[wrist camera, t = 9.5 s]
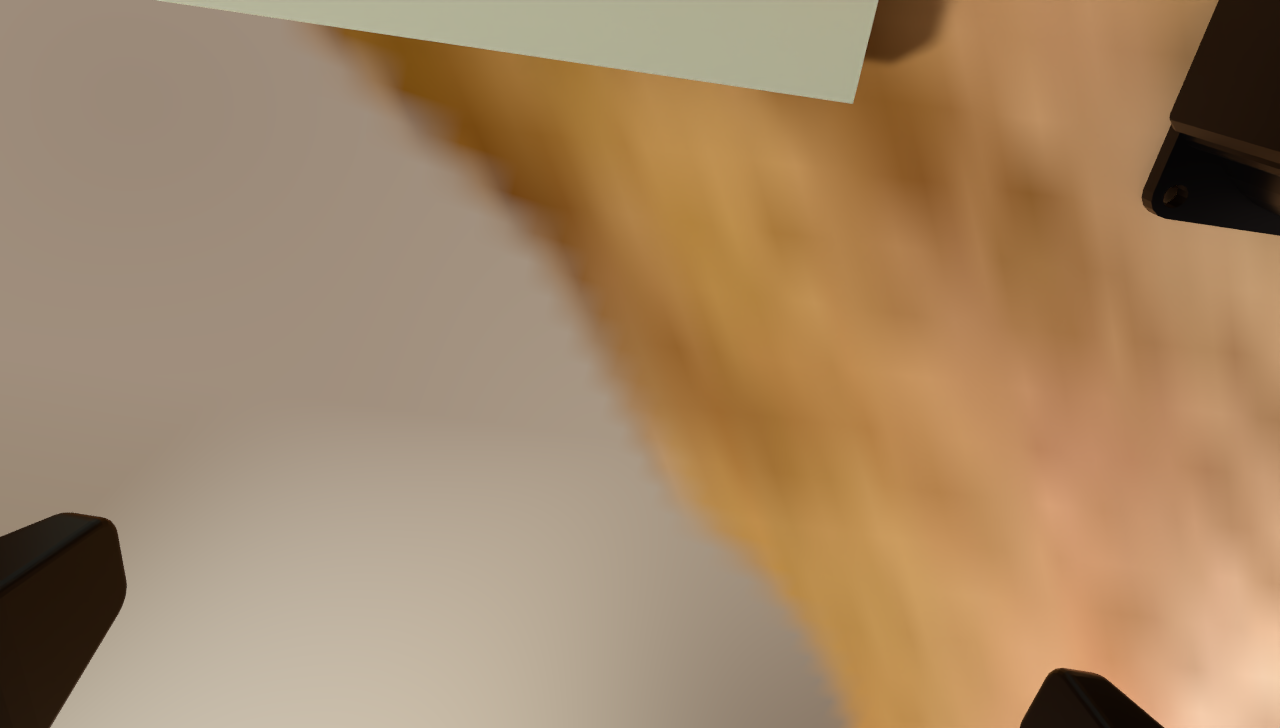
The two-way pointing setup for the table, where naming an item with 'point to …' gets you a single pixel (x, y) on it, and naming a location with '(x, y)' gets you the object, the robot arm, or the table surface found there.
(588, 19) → the lid
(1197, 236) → the table surface
